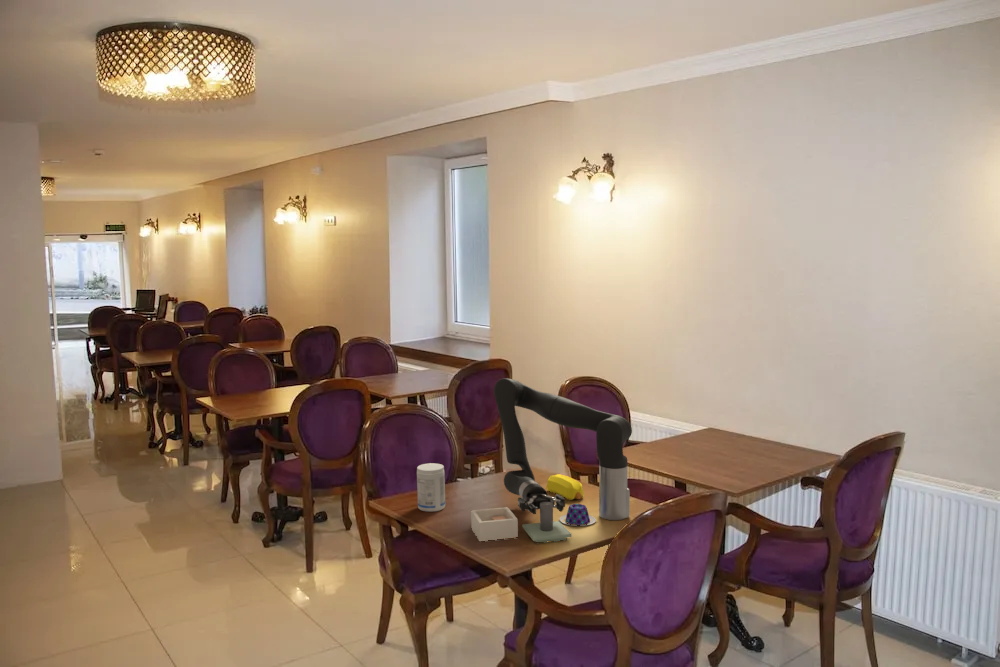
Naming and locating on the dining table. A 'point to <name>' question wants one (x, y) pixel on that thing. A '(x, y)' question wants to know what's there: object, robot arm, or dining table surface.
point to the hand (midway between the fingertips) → (548, 509)
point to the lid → (546, 526)
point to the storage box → (494, 524)
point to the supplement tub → (431, 487)
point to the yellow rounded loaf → (565, 486)
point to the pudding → (577, 515)
